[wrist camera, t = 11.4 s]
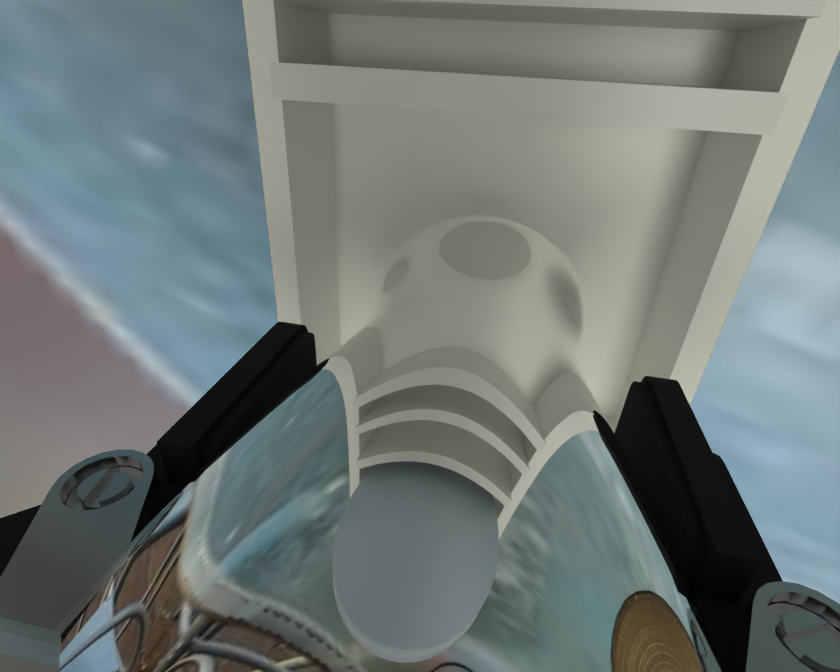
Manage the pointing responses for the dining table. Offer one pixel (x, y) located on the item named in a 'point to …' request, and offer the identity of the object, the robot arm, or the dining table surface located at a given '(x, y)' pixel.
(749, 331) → the dining table surface
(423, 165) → the rack
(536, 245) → the beer glass
